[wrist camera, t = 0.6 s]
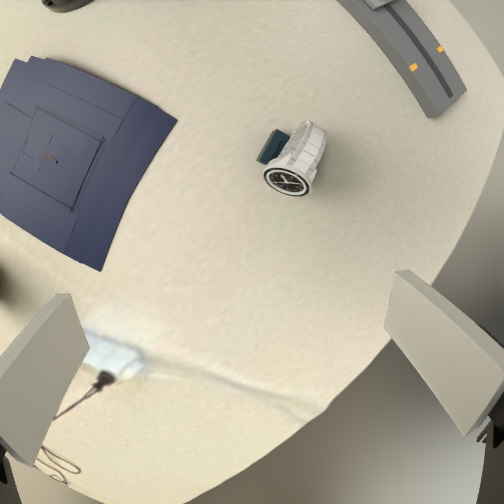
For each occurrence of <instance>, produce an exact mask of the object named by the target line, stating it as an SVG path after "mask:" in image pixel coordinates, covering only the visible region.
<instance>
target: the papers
mask: <svg viewBox="0 0 504 504" xmlns="http://www.w3.org/2000/svg"><path fill="white" fill-rule="evenodd" d="M176 121H177V120H176V119H174V118H173V117H171V116H169V115H168V114H166V113H164V112H163V111H161V110H159V109H158V108H157V107H156V106H154V105H152V104H151V103H149V102H147V101H145V100H143V99H141V98H139V97H137V96H135V95H133V94H131V93H129V92H127V91H125V90H123V89H121V88H119V87H117V86H114V85H112V84H110V83H108V82H106V81H104V80H102V79H99V78H97V77H95V76H93V75H90V74H88V73H86V72H83V71H81V70H79V69H76V68H74V67H72V66H69V65H67V64H64V63H62V62H58V61H55V60H52V59H49V58H46V59H45V60H43V59H40V58H37V57H34V56H31V57H30V59H29V61H28V63H27V62H24V61H21V60H18V59H15V60H14V62H13V64H12V66H11V68H10V70H9V72H8V74H7V76H6V78H5V80H4V82H3V84H2V86H1V89H0V213H1V215H3V216H4V217H6V218H7V219H8V220H10V221H11V222H13V223H14V224H16V225H17V226H19V227H20V228H22V229H23V230H25V231H27V232H28V233H30V234H31V235H33V236H34V237H36V238H38V239H39V240H41V241H42V242H44V243H46V244H47V245H49V246H51V247H52V248H54V249H56V250H57V251H59V252H61V253H62V254H65V255H66V256H68V257H70V258H72V259H74V260H76V261H78V262H79V263H81V264H82V263H83V264H85V265H87V266H89V267H91V268H93V269H95V270H97V271H99V272H100V271H101V268H102V265H103V263H104V260H105V257H106V254H107V251H108V248H109V246H110V243H111V240H112V238H113V235H114V233H115V230H116V227H117V225H118V222H119V220H120V218H121V215H122V213H123V210H124V208H125V206H126V203H127V201H128V199H129V197H130V195H131V193H132V192H133V190H134V188H135V186H136V184H137V183H138V181H139V179H140V178H141V176H142V174H143V172H144V171H145V169H146V167H147V166H148V164H149V163H150V161H151V159H152V158H153V156H154V154H155V153H156V151H157V150H158V148H159V147H160V145H161V144H162V142H163V140H164V139H165V137H166V136H167V134H168V133H169V131H170V130H171V129H172V127H173V126H174V124H175V123H176Z"/></svg>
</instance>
